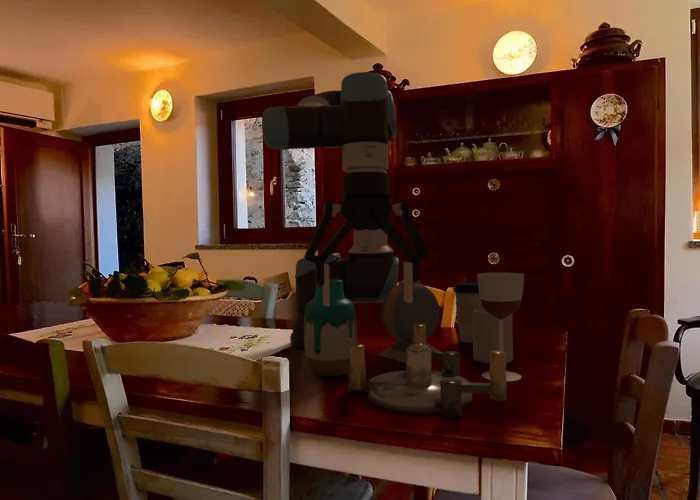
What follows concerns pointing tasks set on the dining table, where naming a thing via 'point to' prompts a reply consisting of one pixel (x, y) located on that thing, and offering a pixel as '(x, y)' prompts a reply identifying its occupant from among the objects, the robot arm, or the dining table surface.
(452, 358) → the crank handle
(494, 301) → the wineglass
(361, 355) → the knob
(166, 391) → the dining table surface
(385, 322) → the alarm clock
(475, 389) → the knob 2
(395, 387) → the plate
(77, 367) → the dining table surface
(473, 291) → the coffee cup
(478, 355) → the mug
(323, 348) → the vase
